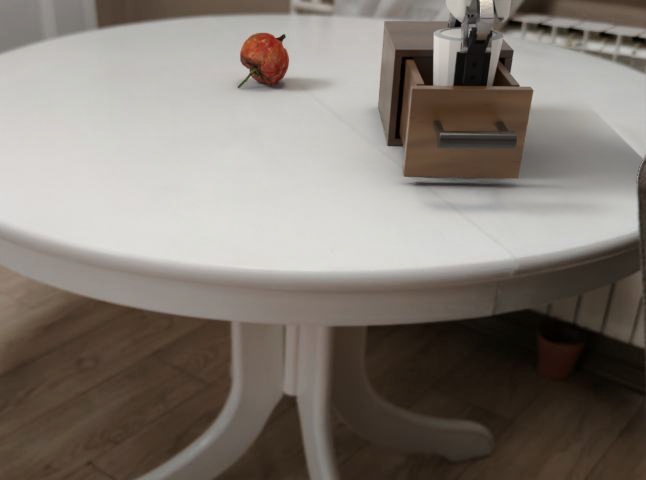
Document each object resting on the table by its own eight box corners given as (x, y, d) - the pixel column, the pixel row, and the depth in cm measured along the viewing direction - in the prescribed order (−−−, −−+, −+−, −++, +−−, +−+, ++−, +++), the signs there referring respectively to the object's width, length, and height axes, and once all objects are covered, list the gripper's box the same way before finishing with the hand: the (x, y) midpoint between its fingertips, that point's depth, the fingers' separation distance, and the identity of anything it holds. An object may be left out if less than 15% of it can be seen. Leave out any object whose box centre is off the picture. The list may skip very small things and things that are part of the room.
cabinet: (498, 147, 92) (514, 50, 86) (387, 145, 92) (395, 49, 86) (475, 107, 105) (487, 21, 99) (377, 106, 105) (384, 20, 100)
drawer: (530, 200, 76) (548, 106, 71) (409, 198, 76) (418, 105, 72) (491, 133, 93) (503, 54, 88) (391, 132, 93) (398, 53, 89)
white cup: (506, 102, 84) (516, 31, 80) (472, 117, 80) (481, 43, 76) (449, 91, 88) (456, 23, 84) (413, 104, 84) (419, 34, 80)
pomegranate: (261, 110, 112) (313, 59, 111) (228, 69, 108) (281, 16, 108) (244, 102, 118) (292, 53, 118) (212, 63, 114) (262, 13, 114)
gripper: (552, -111, 66) (517, 108, 75) (508, -121, 80) (484, 63, 90) (459, -109, 66) (436, 108, 76) (432, -120, 81) (416, 63, 90)
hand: (462, 82), depth 83 cm, fingers closed on white cup, 6 cm apart
